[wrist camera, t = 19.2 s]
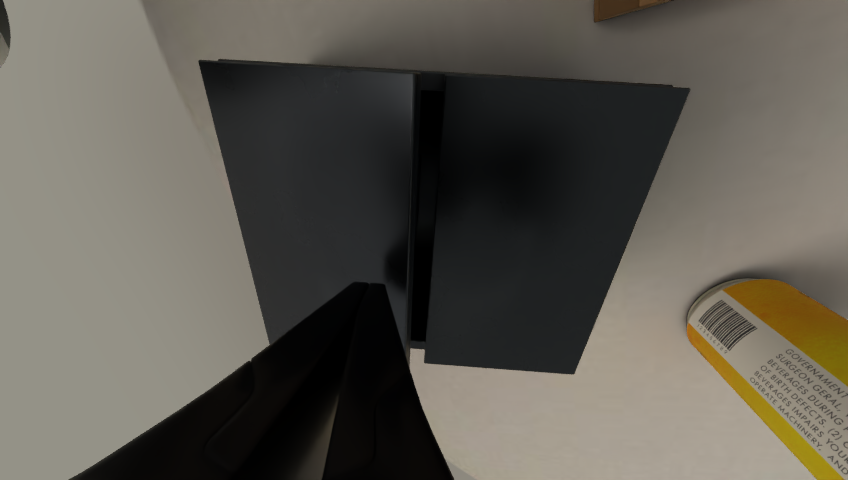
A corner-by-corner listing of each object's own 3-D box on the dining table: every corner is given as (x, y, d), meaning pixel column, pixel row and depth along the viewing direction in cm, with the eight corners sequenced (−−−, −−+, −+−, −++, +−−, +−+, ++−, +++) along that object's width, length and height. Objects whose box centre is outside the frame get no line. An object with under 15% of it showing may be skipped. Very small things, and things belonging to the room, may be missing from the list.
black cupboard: (326, 262, 20) (271, 352, 13) (304, 64, 15) (196, 57, 8) (531, 276, 20) (575, 376, 13) (582, 80, 14) (695, 85, 8)
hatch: (278, 345, 14) (271, 352, 13) (211, 60, 9) (196, 59, 8) (408, 403, 12) (403, 413, 11) (422, 72, 7) (414, 72, 6)
